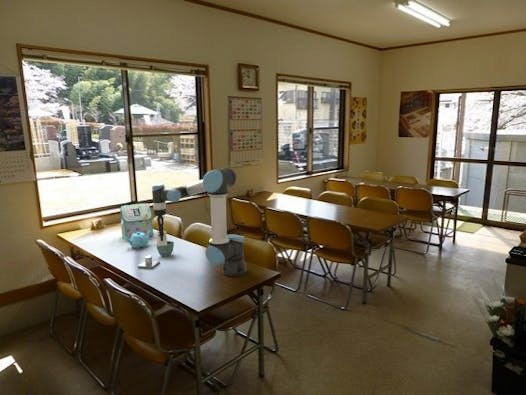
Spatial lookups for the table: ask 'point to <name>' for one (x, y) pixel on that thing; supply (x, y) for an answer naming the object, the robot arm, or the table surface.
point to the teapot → (138, 240)
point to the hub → (148, 263)
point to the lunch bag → (135, 220)
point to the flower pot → (166, 248)
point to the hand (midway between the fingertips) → (161, 243)
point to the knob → (159, 239)
